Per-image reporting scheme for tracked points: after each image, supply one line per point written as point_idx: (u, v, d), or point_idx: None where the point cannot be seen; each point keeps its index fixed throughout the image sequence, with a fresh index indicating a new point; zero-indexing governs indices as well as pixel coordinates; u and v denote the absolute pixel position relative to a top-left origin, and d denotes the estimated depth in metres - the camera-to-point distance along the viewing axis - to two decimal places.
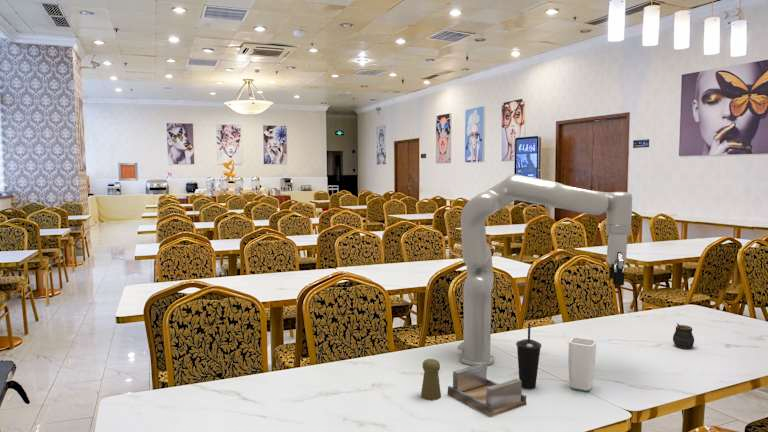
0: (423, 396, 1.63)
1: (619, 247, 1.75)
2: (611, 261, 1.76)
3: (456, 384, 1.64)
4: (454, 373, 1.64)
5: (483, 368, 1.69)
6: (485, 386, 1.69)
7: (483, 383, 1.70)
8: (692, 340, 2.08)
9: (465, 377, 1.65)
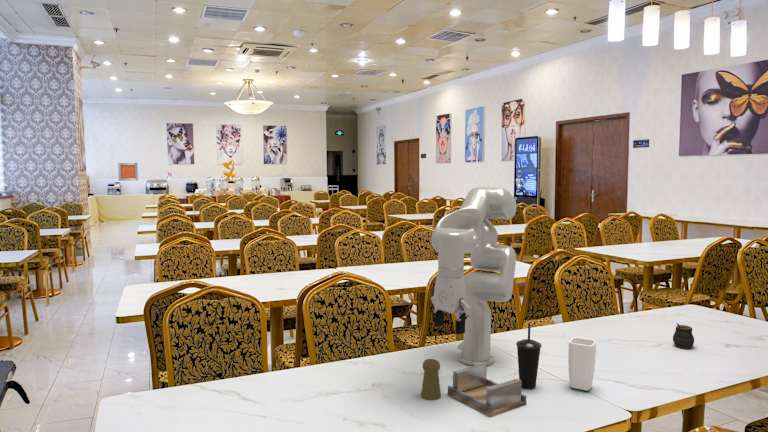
0: (423, 396, 1.63)
1: (460, 293, 1.59)
2: (454, 309, 1.58)
3: (456, 384, 1.64)
4: (454, 373, 1.64)
5: (483, 368, 1.69)
6: (485, 386, 1.69)
7: (483, 383, 1.70)
8: (692, 340, 2.08)
9: (465, 377, 1.65)
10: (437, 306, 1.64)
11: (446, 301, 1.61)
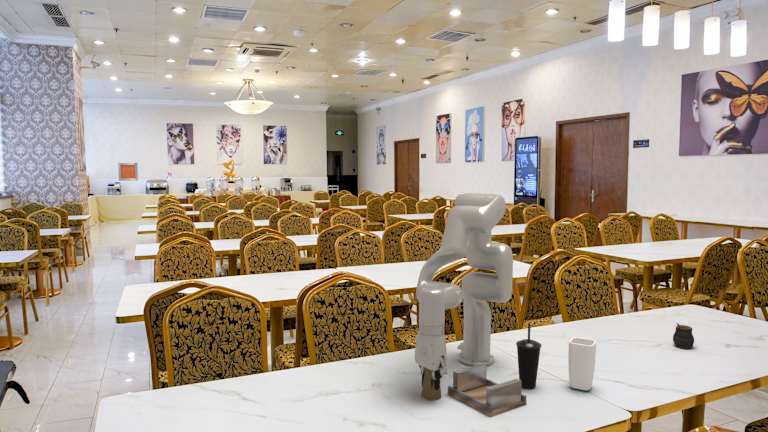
0: (423, 396, 1.63)
1: (441, 350, 1.59)
2: (435, 367, 1.58)
3: (456, 384, 1.64)
4: (454, 373, 1.64)
5: (483, 368, 1.69)
6: (485, 386, 1.69)
7: (483, 383, 1.70)
8: (692, 340, 2.08)
9: (465, 377, 1.65)
10: (418, 362, 1.64)
11: (427, 358, 1.61)
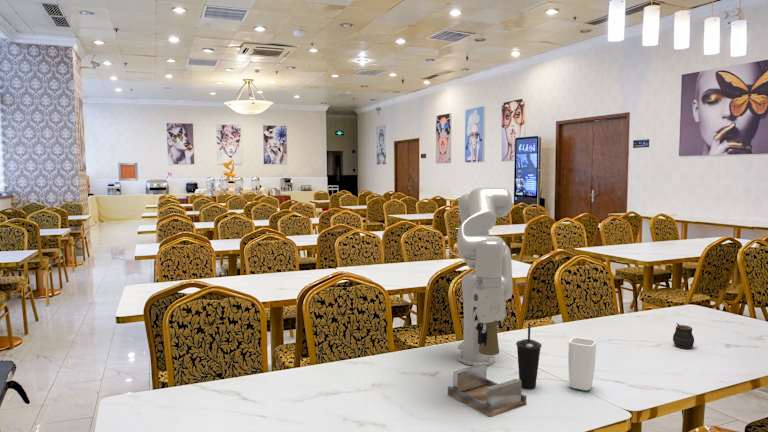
0: (494, 352, 1.58)
1: None
2: None
3: (456, 384, 1.64)
4: (454, 373, 1.64)
5: (483, 368, 1.69)
6: (485, 386, 1.69)
7: (483, 383, 1.70)
8: (692, 340, 2.08)
9: (465, 377, 1.65)
10: (488, 320, 1.57)
11: (498, 310, 1.59)
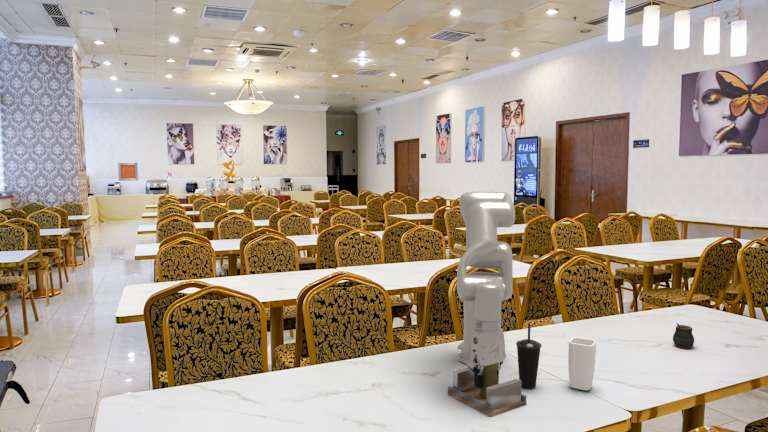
0: None
1: None
2: None
3: (456, 384, 1.64)
4: (454, 373, 1.64)
5: None
6: None
7: None
8: (692, 340, 2.08)
9: (465, 377, 1.65)
10: (487, 363, 1.58)
11: (498, 352, 1.60)
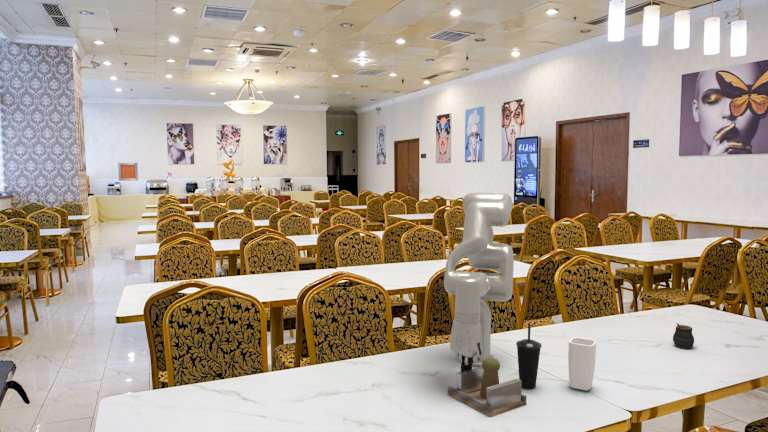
0: None
1: (478, 337, 1.64)
2: (472, 354, 1.63)
3: (460, 386, 1.63)
4: (458, 375, 1.63)
5: None
6: None
7: None
8: (692, 340, 2.08)
9: (469, 378, 1.64)
10: (454, 349, 1.69)
11: (463, 345, 1.65)
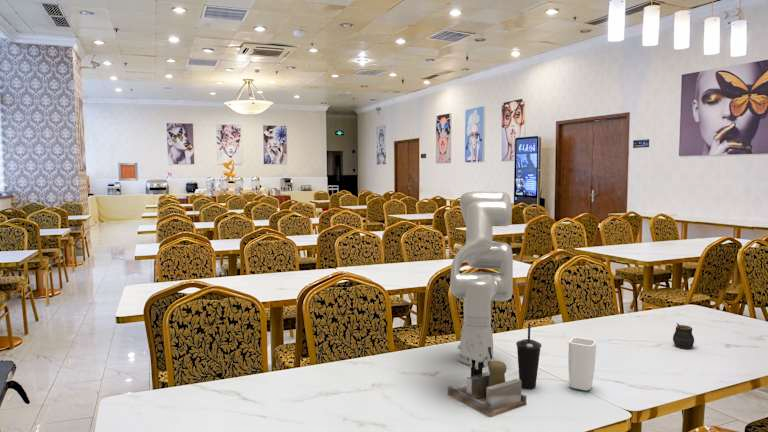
0: None
1: (488, 342, 1.60)
2: (482, 358, 1.59)
3: (470, 391, 1.59)
4: (468, 379, 1.59)
5: None
6: None
7: None
8: (692, 340, 2.08)
9: (479, 383, 1.60)
10: (464, 353, 1.65)
11: (474, 349, 1.61)
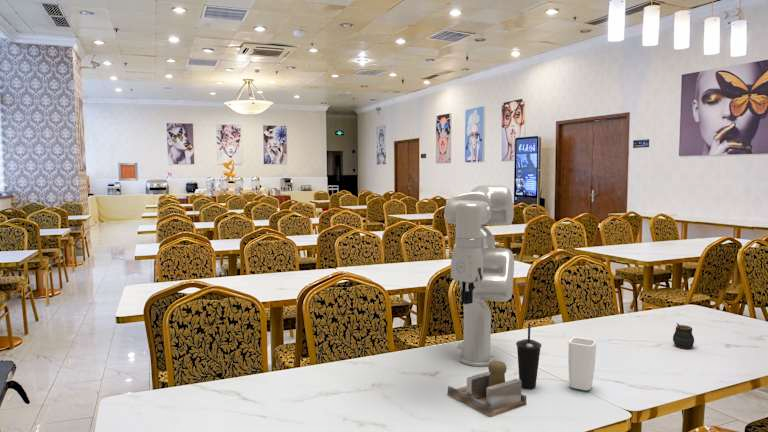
0: None
1: (478, 262, 1.62)
2: (473, 279, 1.61)
3: (470, 391, 1.59)
4: (468, 379, 1.59)
5: None
6: None
7: None
8: (692, 340, 2.08)
9: (479, 383, 1.60)
10: (455, 276, 1.67)
11: (464, 271, 1.64)
